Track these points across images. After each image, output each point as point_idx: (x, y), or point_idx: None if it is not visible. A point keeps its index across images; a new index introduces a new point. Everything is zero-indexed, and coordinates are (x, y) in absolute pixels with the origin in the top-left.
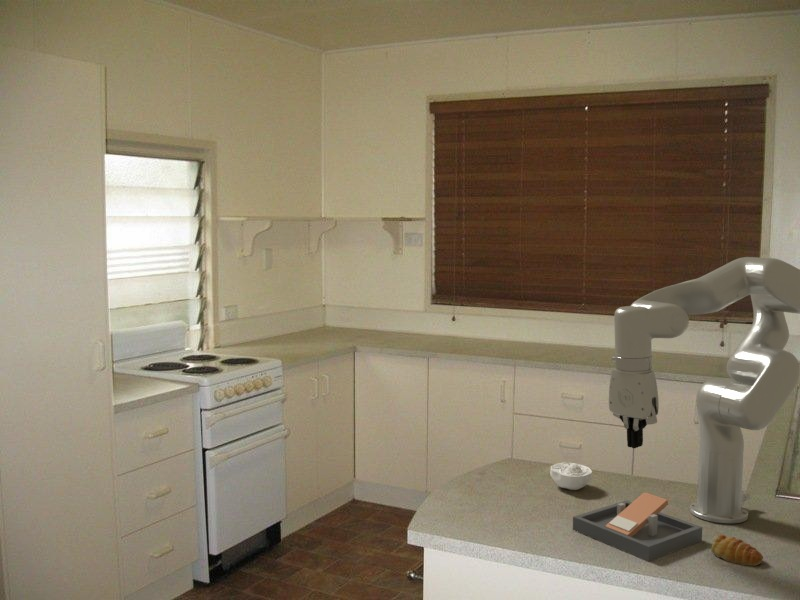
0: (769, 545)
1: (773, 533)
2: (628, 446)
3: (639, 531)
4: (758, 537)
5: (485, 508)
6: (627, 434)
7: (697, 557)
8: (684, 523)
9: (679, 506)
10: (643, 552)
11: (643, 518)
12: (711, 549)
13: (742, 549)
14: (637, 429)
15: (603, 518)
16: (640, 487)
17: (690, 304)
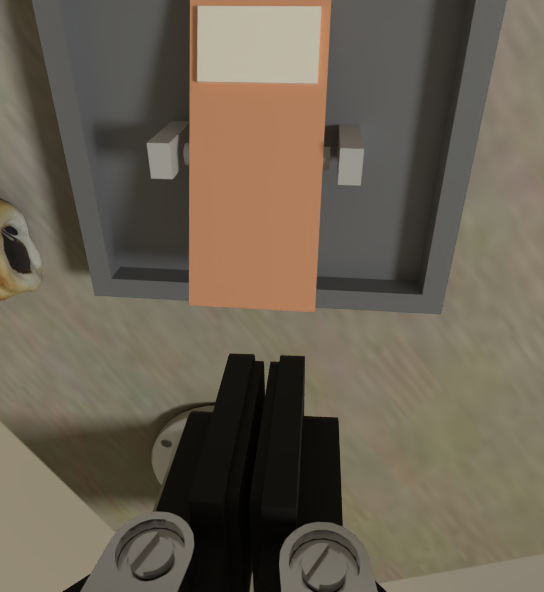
0: (12, 375)
1: (69, 443)
2: (293, 356)
3: None
4: (64, 400)
5: None
6: (295, 449)
7: (13, 140)
8: (150, 280)
9: (340, 443)
10: None
11: (200, 134)
12: (4, 204)
13: None
14: (115, 534)
15: (429, 117)
16: (520, 490)
17: None
